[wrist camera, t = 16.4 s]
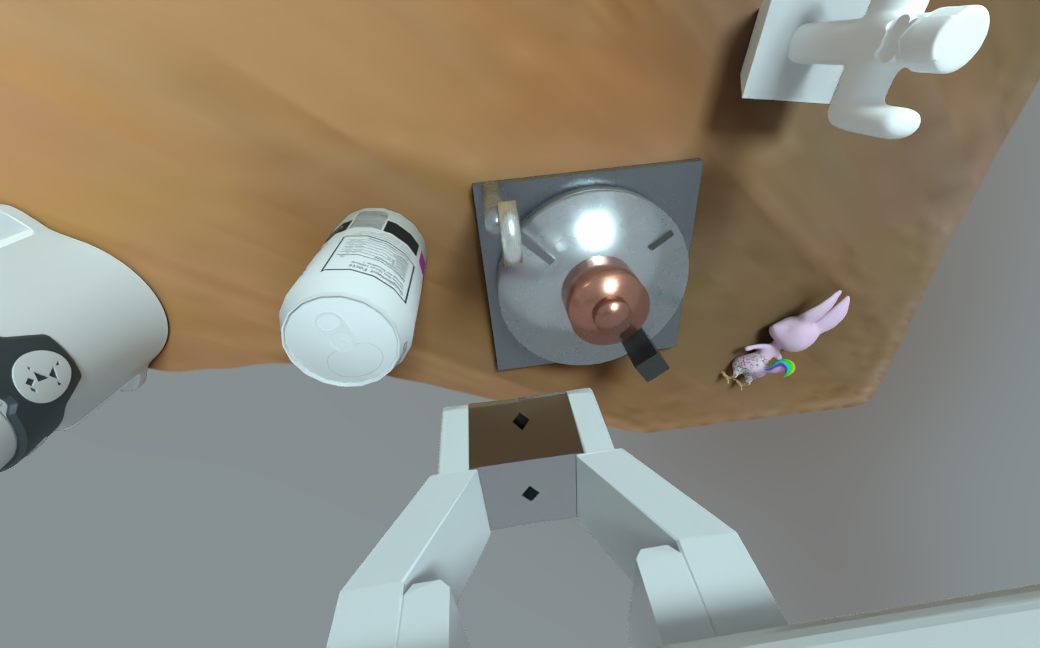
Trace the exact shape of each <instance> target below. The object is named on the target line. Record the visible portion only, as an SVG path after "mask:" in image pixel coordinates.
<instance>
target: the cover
mask: <svg viewBox="0 0 1040 648" xmlns="http://www.w3.org/2000/svg"><path fill="white" fill-rule="evenodd" d="M561 298H562V302H563V305H564V307H565V310H566V313H567V315H568V318H569V320H570V323H571V326H572V328H573V330H574V332H575V333H576V334H577V335H578V336H579V337H580V338H581V339H582V340H584V341H586V342H588V343H591V344H595V345H611V344H616V343H619V342H622V341H624V340H626V339H628V338H629V337H631V336H632V335H633V334H635V333H636V332H637V331H638V330H639V329H640V328H641V327H642V325H643V324H644V322H645V321H646V319H647V317H648V314H649V310H650V298H649V295H648V292H647V290H646V289H645V287H644V286H643V285H642V283H641V282H640V281H639V279H638V278H637V277H636V275H635V274H634V273H633V271H632V270H631V269H630V267H629V266H628V265H627V264H626V263H625V262H623V261H622V260H620V259H618V258H616V257H612V256H595V257H591V258H588V259H586V260H584V261H582V262H580V263H579V264H577V265H576V266H575V267H574V268H573V269H572V270H571V271H570V272H569V273H568V275H567V276H566V278H565V280H564V282H563V285H562V290H561Z"/></svg>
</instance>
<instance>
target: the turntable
mask: <svg viewBox="0 0 1040 648" xmlns="http://www.w3.org/2000/svg"><path fill="white" fill-rule="evenodd" d="M520 230H521V231H522V232H523V233H525V234H526V235H527V236H529V237H530V238H531V239H532V240H534V241H535V242H536V243H537V244H539V245H540V246H541V247H543V248H544V249H545V250H546V251H548V252H549V253H550V254H552V255H553V256H554V257H555V261H554V262H553V263H552V264H551V265H549V264H548V263H546V262H545V261H544V260H542V259H541V258H540V257H538V256H537V255H536V254H535V253H533V252H532V251H531V250H529V249H528V248H527V247H525V246H524V245H523V244H522V254H523V264H522V265H518V266H510V267H505V265H504V259H503V252H502V256H501V259H500V262H499V267H498V274H497V289H498V297H499V304H500V309H501V313H502V316H503V319H504V321H505V323H506V325H507V327H508V329H509V330H510V332H511V333H512V335H513V336H514V337H515V338H516V339H517V340H518V341H519V343H520V344H522V345H523V346H524V347H525V348H526V349H528V350H529V351H531V352H532V353H534V354H536V355H537V356H540V357H542V358H544V359H546V360H549V361H553V362H556V363H561V364H567V365H591V364H599V363H603V362H607V361H611V360H614V359H617V358H619V357H622V356H624V355H626V354H628V356H629V357H630V359H631V361H632V363H633V365H634V367H635V368H636V369H637V371H638V372H639V373H640V374H641V375H642V376H643V377H644V379H645V380H646V381H647V382H649V381H650V380H652V379H654V378H655V377H657V376H658V375H660V374H661V373H663V372H665V371H666V370H668V369H669V366H668V365H667V363H666V362H665V360H664V358H663V357H662V355H661V354H660V352H659V351H658V349H657V348H656V346H655V344H654V343H653V341H652V340H651V339H652V338H653V337H654V336H655V335H656V334H657V333H658V332H660V330H661V329H662V328H663V327H664V326H665V325H666V324H667V323H668V321H669V320H670V319H671V317H672V316H673V314H674V313H675V311H676V309H677V308H678V306H679V304H680V302H681V299H682V297H683V295H684V292H685V288H686V285H687V280H688V273H689V258H688V252H687V247H686V244H685V241H684V238H683V236H682V234H681V232H680V230H679V228H678V227H677V225H676V224H675V223H674V221H673V220H672V218H670V217H669V216H668V215H667V214H666V213H665V212H664V211H663V210H662V209H661V208H659V207H658V206H657V205H656V204H655V203H653V202H652V201H650V200H649V199H647V198H646V197H644V196H642V195H640V194H638V193H636V192H634V191H631V190H627V189H624V188H620V187H613V186H589V187H582V188H578V189H574V190H570V191H567V192H565V193H562V194H560V195H557V196H555V197H553V198H551V199H550V200H548V201H546V202H544V203H543V204H541V205H540V206H539V207H537V208H536V209H535V210H533V211H532V212H531V213H530V214H529V215H528V216H527V217H526V218H525V219H524V220H523V221H522V222H521V223H520ZM595 256H612V257H616V258H618V259H620V260H622V261H623V262H625V263H626V264H627V265H628V266H629V267H630V269H631V270H632V271H633V273H634V274H635V275H636V277H637V278H638V279H639V281H640V282H641V283H642V285H643V286H644V287H645V289H646V290H647V292H648V295H649V298H650V310H649V314H648V317H647V319H646V321H645V322H644V324H643V325H642V327H641V328H640V329H639V330H638V331H637V332H636V333H635V334H633V335H632V336H631V337H629V338H628V339H626V340H624V341H622V342H619V343H616V344H611V345H595V344H591V343H588V342H586V341H584V340H582V339H581V338H580V337H579V336H578V335H577V334H576V333H575V332H574V330H573V328H572V326H571V323H570V320H569V318H568V315H567V313H566V310H565V307H564V305H563V302H562V298H561V290H562V285H563V282H564V280H565V278H566V276H567V275H568V273H569V272H570V271H571V270H572V269H573V268H574V267H575V266H576V265H577V264H579V263H580V262H582V261H584V260H586V259H588V258H591V257H595Z"/></svg>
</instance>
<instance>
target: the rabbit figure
mask: <svg viewBox="0 0 1040 648" xmlns="http://www.w3.org/2000/svg"><path fill="white" fill-rule="evenodd" d="M841 292H842V291H841V290H839V291H837V292H836V293H834V294H833V295H832V296H831V297H830V298H828V299H827V300H826V301H824V302H822V303H821V304H819V305H818V306H816V307H814V308H812V309H810V310H808V311H806V312H804V313H802V314H800V315H799V316H791V317H787V318H785V319H783V320H781V321H779V322H777V323H775V324H773V325H771V326H770V328H769V333H770V335H771V337H772V338H773V339H774V341H773V342H772V343H770V344H756V345H750V346H746V347H745V350H746V351H750V350H752V349H757V351H756V352H754V353H750V354H746V355H742V356H739V357H737V358H736V359H735V360H734V361H733V363H732V367H733V375H732V376H728V375H726V373H725V372H724V371H722V372H721V373H723V372H724V373H723V376H724V377H725V379H726V380H728V383H729V379H731V378H736V377H737V376H738V375H739V374H742V373H743V375H744V377H745V380H746V381H745V383H741V382H740V381H739V380H738V379H737V378H736V379H737V380H736V379H734V380H736V382H737V384H738V385H739V387H741V390H742V386H744V385H750V383H751V382H752V380H753V379H755V378H759V377H763V376H764V375H765V374H766V373H778V372H781V371H784V370H786V372H785V376H784V377H786V376H789V375H791V374H792V373H793V372H794V371H795V364H794V363H793V362H792V361H791V360H788V359H782V356H781V353H780V350H781V349H784V350H786V351H789V352H798V351H802V350H804V349H806V348H808V347H809V346H810V345H812V344H813V343H814V342H815V340H816V339H817V337H818V336H819V335H820V334H821V333H823V332H826V331H828V330H830V329H832V328H833V327H835V326H836V325H837V324H838V323H839V322H840V321H841V320H842V319H843V318H844V317H845V315H846V313H847V311H848V307H849V302H850V297H849V296H846V297H845V298H844V299H843V300H842V301H841V302H839V303H838V304H837V305H836V306H835V307H833V305H834V304H835V302H836V301H837V299H838V297H839V296H840V294H841ZM832 307H833V308H832ZM831 308H832V309H831ZM830 309H831V310H830ZM773 357H774V358H776V360H777V361H775V362H774V363H773V364H772V365H771V366H770V367H768V364H769V361H770V359H771V358H773Z"/></svg>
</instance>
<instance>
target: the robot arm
mask: <svg viewBox="0 0 1040 648" xmlns="http://www.w3.org/2000/svg"><path fill="white" fill-rule="evenodd" d="M167 335H168V324H167V319H166V315H165V312H164V310H163V307H162V305H161V303H160V302H159V300H158V298H157V297H156V295H155V294H154V293H153V291H152V290H151V289H150V287H149V286H148V285H147V284H146V283H145V282H144V281H143V280H142V279H141V278H140V277H139V276H138V275H137V274H136V273H135V272H133V271H132V270H131V269H130V268H129V267H127V266H126V265H125V264H123V263H122V262H120V261H119V260H117V259H116V258H114V257H113V256H111V255H109V254H107V253H106V252H104V251H102V250H100V249H98V248H96V247H94V246H92V245H89V244H87V243H84V242H82V241H79V240H76V239H74V238H71V237H68V236H65V235H62V234H60V233H57V232H55V231H53V230H50V229H48V228H47V227H45V226H44V225H42V224H41V223H39V222H38V221H36V220H35V219H33V218H32V217H30V216H28V215H27V214H25V213H23V212H22V211H20V210H18V209H16V208H14V207H11V206H8V205H4V204H0V472H2V471H5V470H7V469H9V468H11V467H12V466H14V465H15V464H17V463H18V462H19V461H20V460H21V459H23V458H24V457H26V456H28V455H29V454H31V453H32V452H33V451H34V450H36V449H37V448H38V447H39V446H40V445H41V444H43V442H44V441H45V440H46V439H47V437H48V436H49V435H50V434H51V433H52V432H53V431H59V430H64V431H65V430H68V429H71V428H73V427H75V426H76V425H77V424H79V423H80V422H81V421H82V420H84V419H85V418H86V417H87V416H89V415H90V414H91V413H92V412H94V411H95V410H96V409H97V408H99V407H100V406H101V405H102V404H104V403H105V402H106V401H107V400H109V399H110V398H111V397H112V396H113V395H115V394H116V393H117V392H118V391H133V390H135V389H137V388H138V387H139V386H141V385H142V384H143V383H144V382H145V379H146V376H147V368H148V365H149V363H150V362H151V361H152V360H153V359H154V358H155V357H156V356H157V355H158V354H159V353H160V352H161V350H162V349H163V347H164V345H165V343H166V340H167ZM438 464H439V465H438V474H437V475H431V476H429V477H428V479H427V480H426V481H425V483H424V484H423V485H422V487H421V488H420V489H419V490H418V492H417V493H416V494H415V496H414V497H413V498H412V499H411V501H410V502H409V503H408V505H407V506H406V507H405V508H404V510H403V511H402V512H401V514H400V515H399V516H398V518H397V519H396V520H395V522H394V523H393V524H392V525H391V527H390V528H389V529H388V530H387V532H386V533H385V535H384V536H383V537H382V538H381V540H380V541H379V542H378V543H377V545H376V546H375V547H374V549H373V550H372V551H371V553H370V554H369V555H368V557H367V558H366V559H365V560H364V561H363V563H362V564H361V565H360V567H359V568H358V569H357V571H356V572H355V573H354V574H353V576H352V577H351V578H350V580H349V581H348V582H347V584H346V585H345V586H344V587H343V589H342V590H341V592H340V594H339V598H338V602H337V606H336V610H335V614H334V619H333V623H332V627H331V631H330V635H329V639H328V644H327V648H471V647H470V644H469V642H468V639H467V636H466V633H465V630H464V627H463V624H462V621H461V618H460V615H459V613H458V609H457V607H456V606H457V604H458V601H459V599H460V597H461V595H462V593H463V591H464V589H465V587H466V585H467V583H468V580H469V578H470V576H471V574H472V572H473V570H474V568H475V566H476V564H477V562H478V559H479V557H480V555H481V553H482V551H483V549H484V547H485V545H486V543H487V540H488V538H489V536H490V534H491V532H490V531H491V530H496V529H502V528H508V527H513V526H519V525H525V524H530V523H537V522H546V521H553V520H562V519H570V518H577V520H578V521H579V522H580V523H581V524H582V526H583V527H584V528H585V529H586V530H587V531H588V533H589V534H590V535H591V536H592V537H593V538H594V539H595V540H596V541H597V543H598V544H599V545H600V546H601V547H602V548H603V549H604V551H605V552H606V553H607V554H608V555H609V556H610V557H611V558H612V560H613V561H614V562H615V563H616V564H617V565H618V566H619V568H620V569H621V570H622V571H623V572H624V573H625V574H626V576H627V577H628V578H629V579H630V580H631V581H632V582H633V586H632V594H631V601H630V609H629V617H628V625H627V635H628V639H629V643H630V647H631V648H1040V584H1036V585H1029V586H1023V587H1017V588H1012V589H1005V590H999V591H993V592H987V593H980V594H974V595H968V596H962V597H956V598H950V599H944V600H938V601H932V602H925V603H919V604H913V605H907V606H901V607H895V608H888V609H882V610H876V611H871V612H864V613H858V614H852V615H846V616H839V617H833V618H827V619H821V620H815V621H809V622H803V623H797V624H790V625H788V623H787V621H786V619H785V617H784V616H783V614H782V612H781V610H780V609H779V607H778V605H777V603H776V601H775V600H774V598H773V596H772V594H771V593H770V591H769V589H768V587H767V585H766V584H765V582H764V580H763V579H762V577H761V575H760V573H759V571H758V569H757V568H756V566H755V564H754V563H753V561H752V559H751V557H750V555H749V554H748V552H747V550H746V548H745V546H744V545H743V543H742V541H741V539H740V538H739V536H738V534H737V532H735V531H734V530H732V529H731V528H730V527H729V526H727V525H726V524H724V523H723V522H722V521H720V520H719V519H718V518H716V517H715V516H714V515H712V514H711V513H709V512H708V511H707V510H705V509H704V508H703V507H701V506H700V505H699V504H697V503H696V502H694V501H693V500H692V499H690V498H689V497H688V496H686V495H685V494H684V493H682V492H681V491H680V490H678V489H677V488H675V487H674V486H673V485H671V484H670V483H669V482H667V481H666V480H665V479H663V478H662V477H661V476H659V475H658V474H656V473H655V472H654V471H652V470H651V469H649V468H648V467H647V466H646V465H644V464H643V463H642V462H640V461H639V460H637V459H636V458H635V457H633V456H632V455H631V454H629V453H628V452H627V451H625V450H624V449H614V446H613V444H612V441H611V439H610V436H609V433H608V431H607V428H606V425H605V423H604V420H603V417H602V415H601V412H600V409H599V407H598V404H597V401H596V399H595V396H594V394H593V391H592V390H591V389H590V388H583V389H576V390H570V391H566V392H558V393H551V394H544V395H537V396H530V397H523V398H517V399H509V400H500V401H491V402H482V403H473V404H469V405H460V406H450V407H444V409H443V412H442V421H441V435H440V450H439V463H438ZM533 520H534V521H533Z"/></svg>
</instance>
